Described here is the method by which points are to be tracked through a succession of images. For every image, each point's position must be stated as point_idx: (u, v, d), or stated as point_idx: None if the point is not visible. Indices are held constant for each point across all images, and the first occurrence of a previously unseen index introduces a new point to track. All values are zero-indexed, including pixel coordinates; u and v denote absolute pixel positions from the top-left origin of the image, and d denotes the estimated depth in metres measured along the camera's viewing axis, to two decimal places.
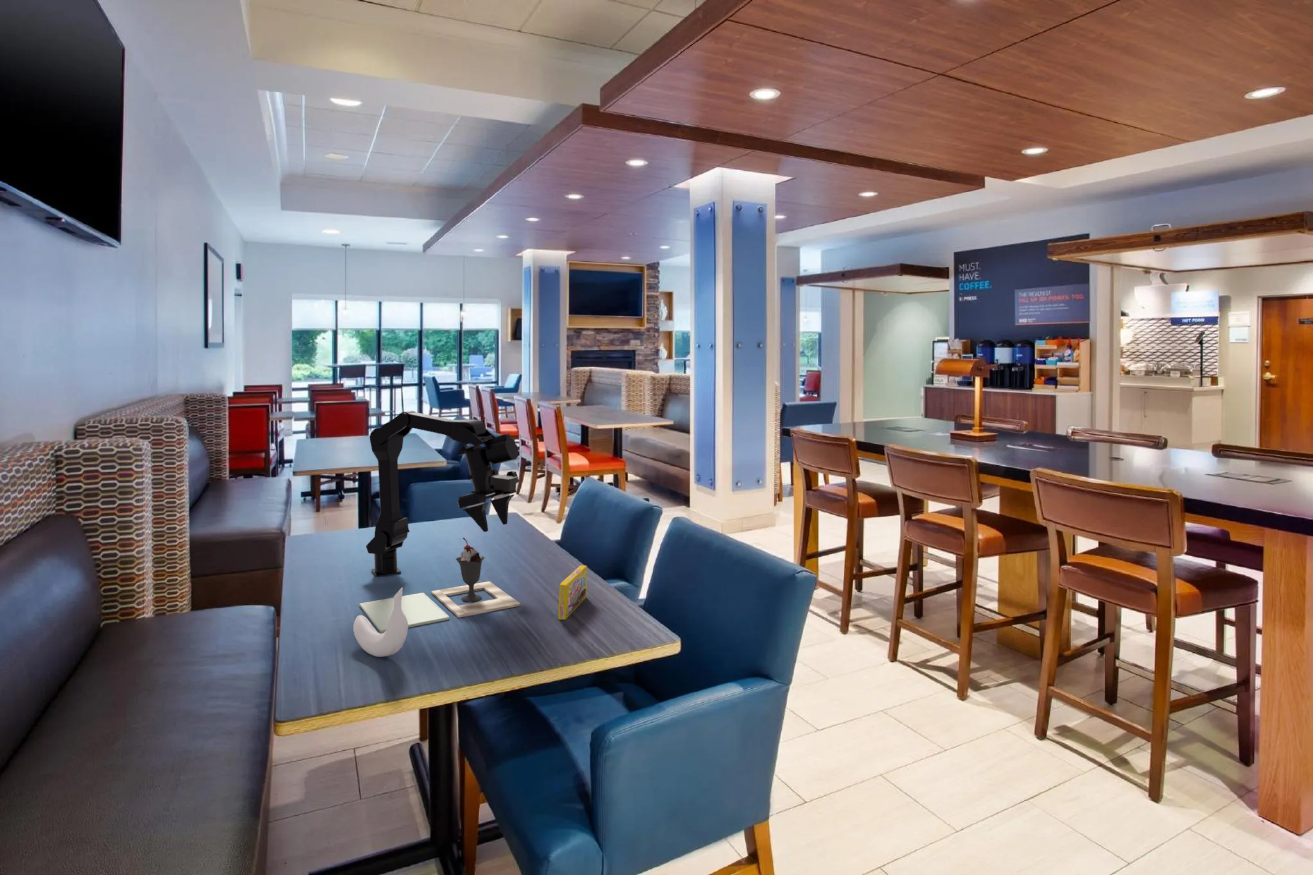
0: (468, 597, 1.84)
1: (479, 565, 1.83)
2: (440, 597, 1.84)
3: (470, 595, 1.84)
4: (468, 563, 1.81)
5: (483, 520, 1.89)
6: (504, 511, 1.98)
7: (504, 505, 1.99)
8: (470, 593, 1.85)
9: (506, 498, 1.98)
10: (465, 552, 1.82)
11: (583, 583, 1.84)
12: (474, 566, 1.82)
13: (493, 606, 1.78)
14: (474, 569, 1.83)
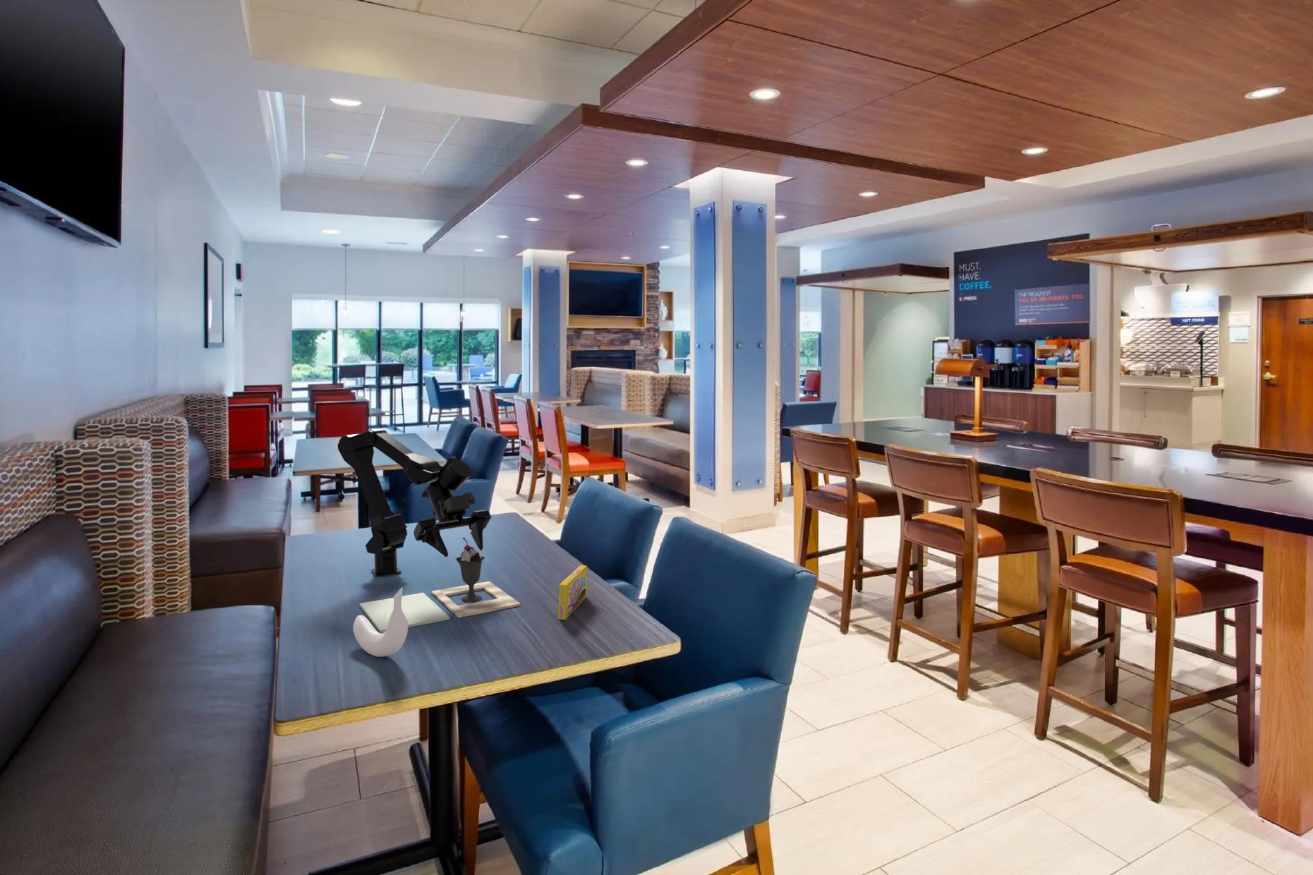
0: (468, 597, 1.84)
1: (479, 565, 1.83)
2: (440, 597, 1.84)
3: (470, 595, 1.84)
4: (468, 563, 1.81)
5: (440, 545, 1.84)
6: (478, 537, 1.91)
7: (477, 531, 1.91)
8: (470, 593, 1.85)
9: (476, 523, 1.92)
10: (465, 552, 1.82)
11: (583, 583, 1.84)
12: (474, 566, 1.82)
13: (493, 606, 1.78)
14: (474, 569, 1.83)
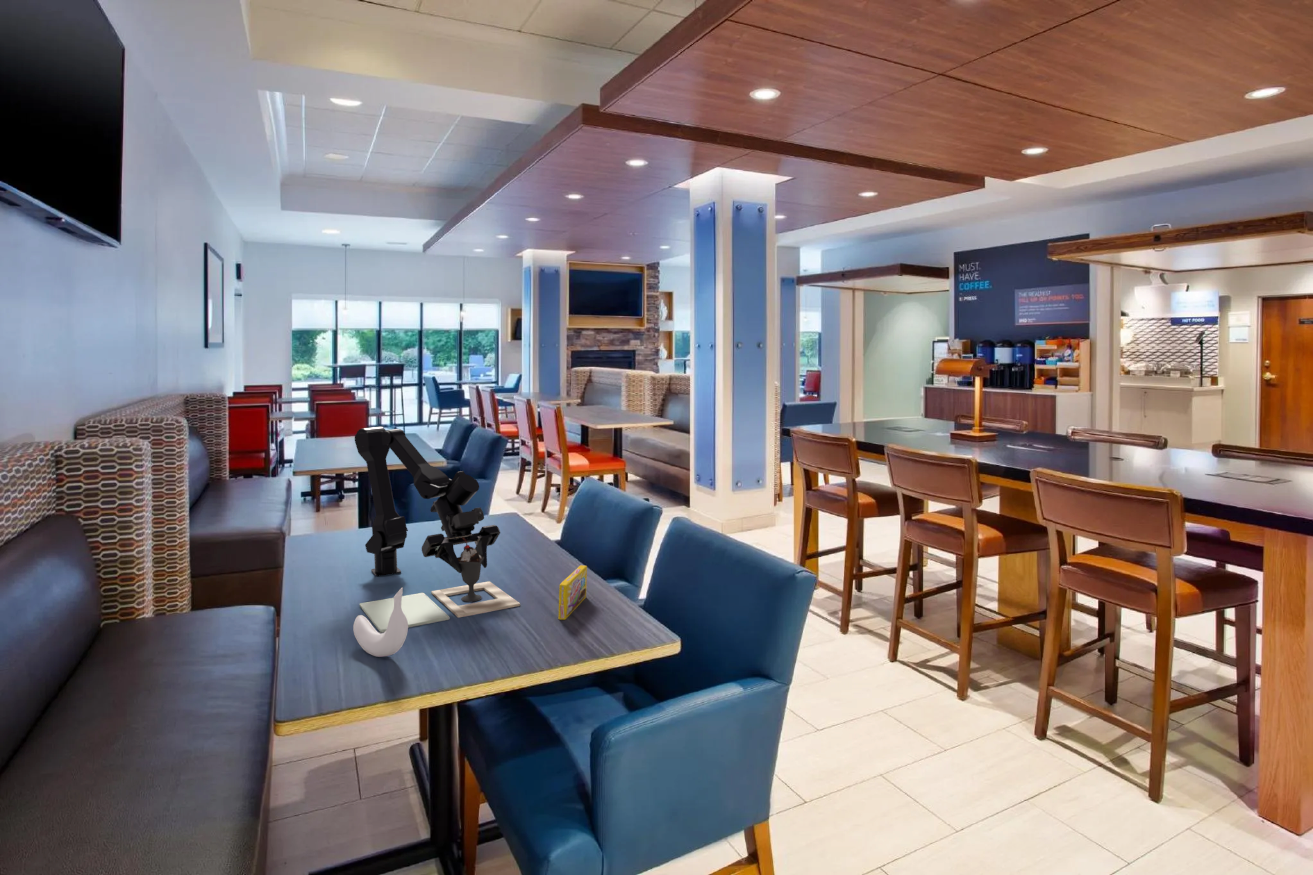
0: (468, 597, 1.84)
1: (479, 565, 1.83)
2: (440, 597, 1.84)
3: (470, 595, 1.84)
4: (468, 563, 1.81)
5: (453, 560, 1.82)
6: (482, 554, 1.87)
7: (481, 547, 1.87)
8: (470, 593, 1.85)
9: (480, 540, 1.88)
10: (465, 552, 1.82)
11: (583, 583, 1.84)
12: (474, 566, 1.82)
13: (493, 606, 1.78)
14: (474, 569, 1.82)
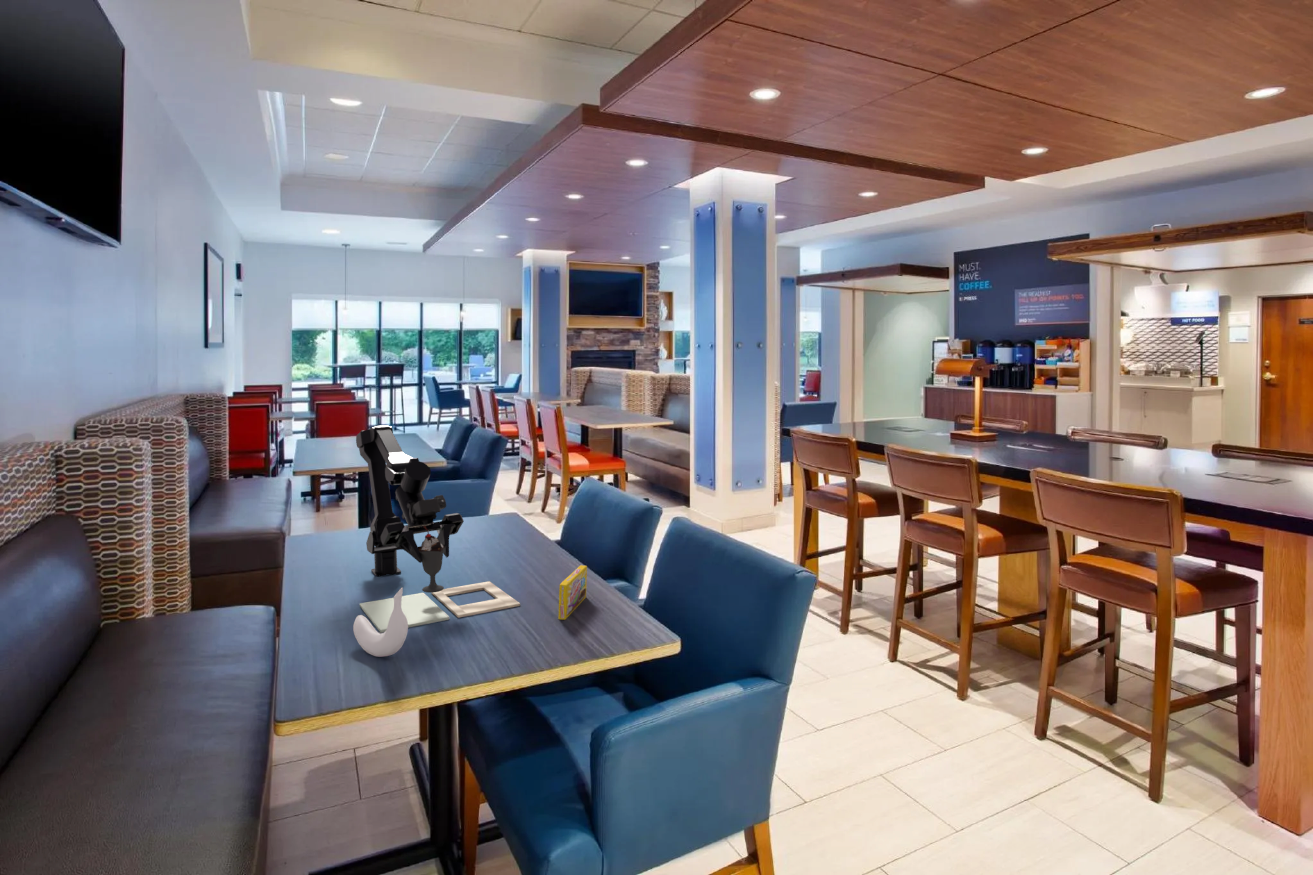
0: (429, 587, 1.78)
1: (440, 554, 1.77)
2: (440, 597, 1.84)
3: (431, 585, 1.78)
4: (429, 552, 1.75)
5: (413, 550, 1.75)
6: (444, 543, 1.81)
7: (443, 536, 1.81)
8: (431, 583, 1.79)
9: (442, 528, 1.82)
10: (426, 541, 1.76)
11: (583, 583, 1.84)
12: (435, 555, 1.76)
13: (493, 606, 1.78)
14: (435, 559, 1.77)
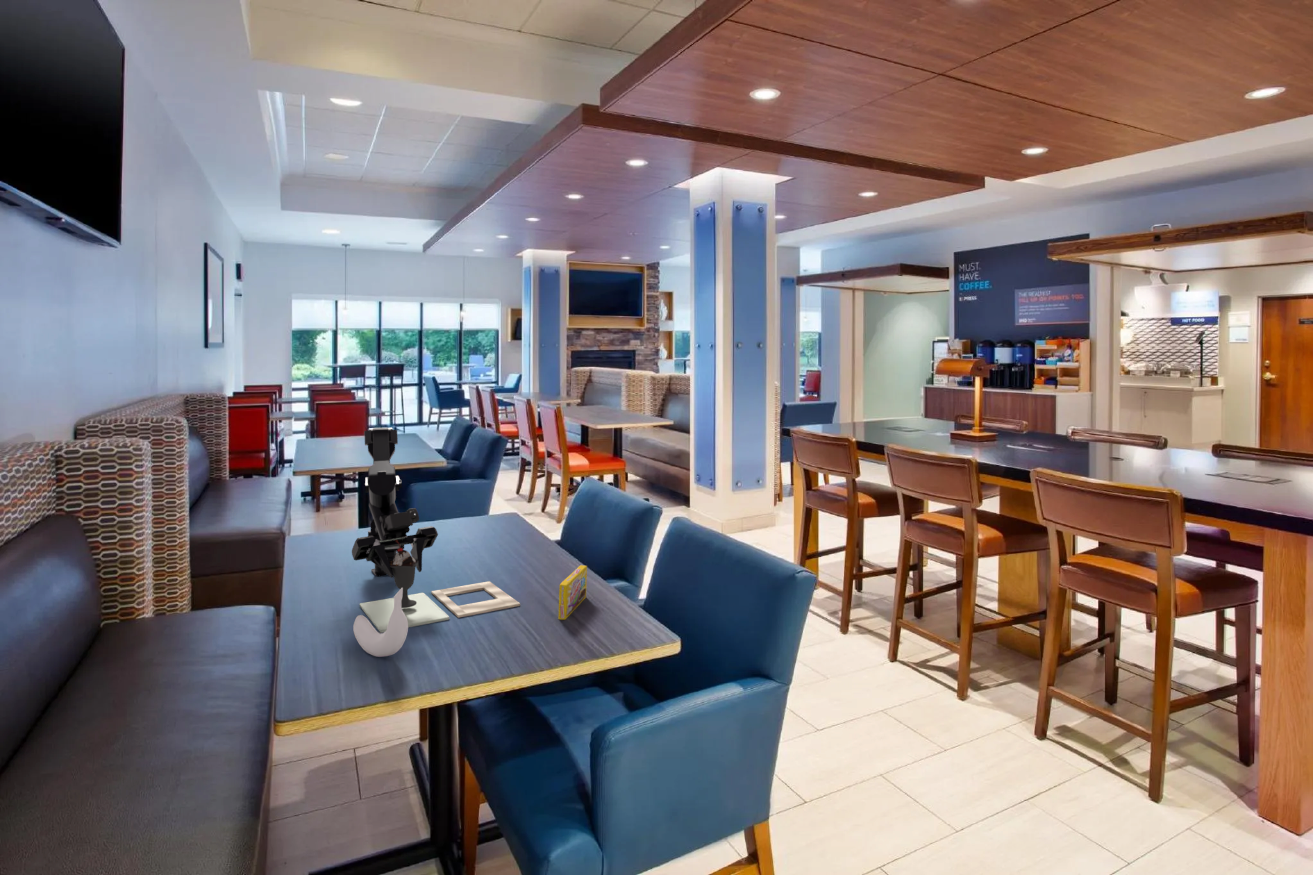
0: (401, 603, 1.75)
1: (412, 569, 1.74)
2: (440, 597, 1.84)
3: (403, 600, 1.75)
4: (400, 567, 1.72)
5: (384, 564, 1.72)
6: (417, 557, 1.77)
7: (416, 550, 1.78)
8: (403, 598, 1.75)
9: (416, 542, 1.78)
10: (397, 555, 1.73)
11: (583, 583, 1.84)
12: (407, 570, 1.73)
13: (493, 606, 1.78)
14: (407, 573, 1.73)
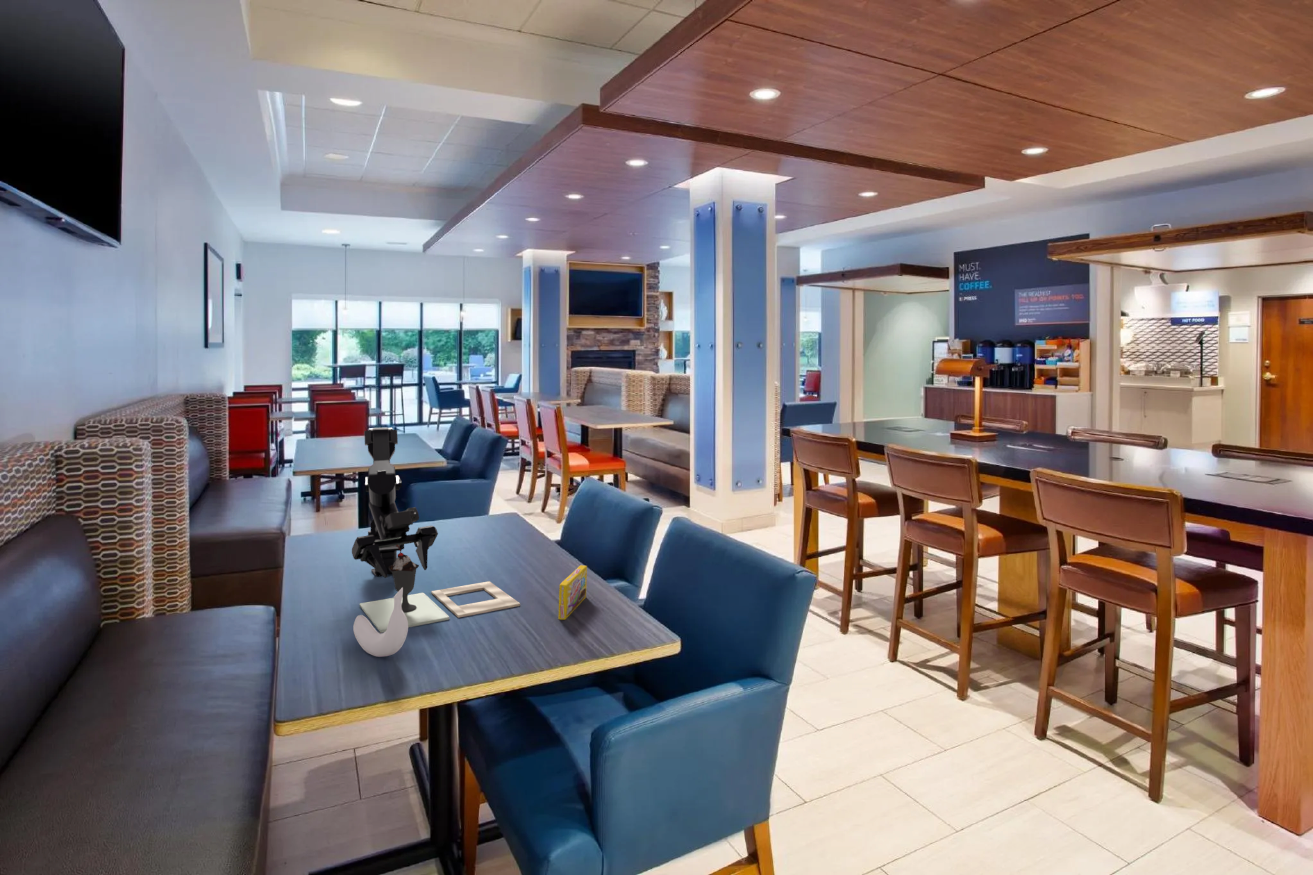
0: None
1: (412, 574, 1.74)
2: (440, 597, 1.84)
3: (403, 605, 1.75)
4: (400, 572, 1.72)
5: (379, 564, 1.71)
6: (422, 555, 1.78)
7: (422, 549, 1.79)
8: (403, 603, 1.75)
9: (421, 540, 1.79)
10: (397, 560, 1.73)
11: (583, 583, 1.84)
12: (407, 575, 1.73)
13: (493, 606, 1.78)
14: (407, 578, 1.73)
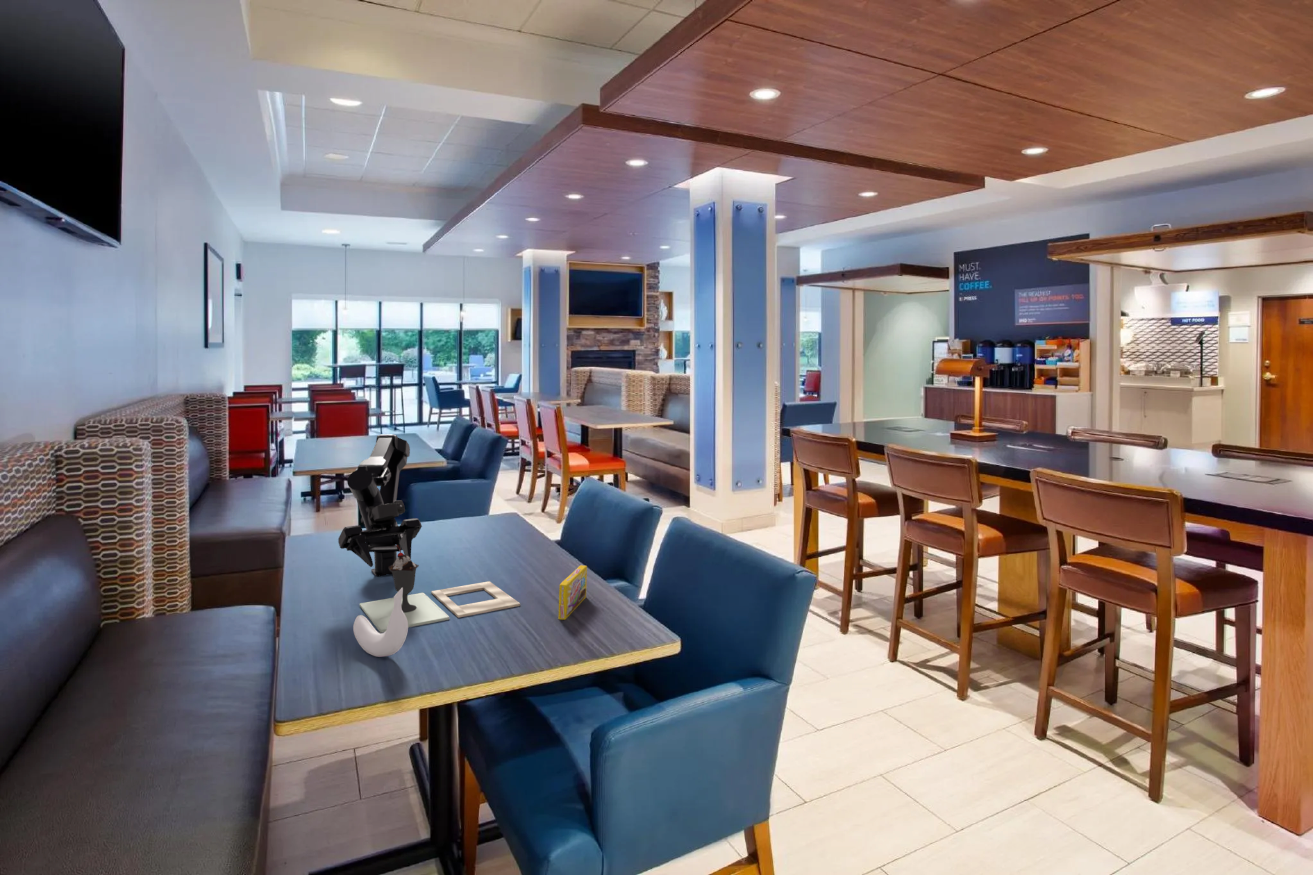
0: (401, 607, 1.75)
1: (412, 574, 1.74)
2: (440, 597, 1.84)
3: (403, 605, 1.75)
4: (400, 572, 1.72)
5: (365, 554, 1.78)
6: (406, 546, 1.85)
7: (406, 540, 1.86)
8: (403, 603, 1.75)
9: (405, 532, 1.86)
10: (397, 560, 1.73)
11: (583, 583, 1.84)
12: (407, 574, 1.73)
13: (493, 606, 1.78)
14: (407, 578, 1.73)
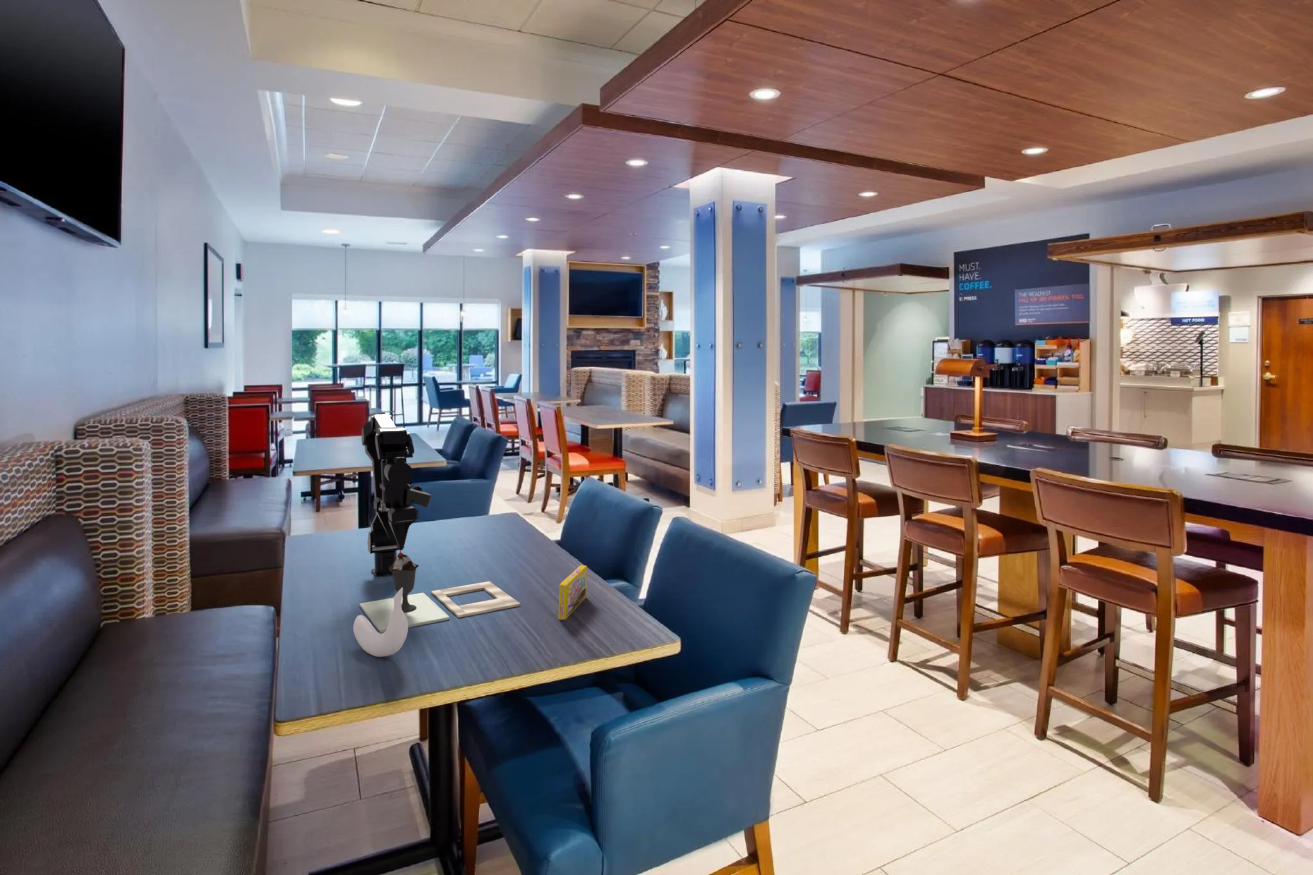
0: (401, 607, 1.75)
1: (412, 574, 1.74)
2: (440, 597, 1.84)
3: (403, 605, 1.75)
4: (400, 572, 1.72)
5: (405, 535, 1.82)
6: None
7: None
8: (403, 603, 1.75)
9: None
10: (397, 560, 1.73)
11: (583, 583, 1.84)
12: (407, 574, 1.73)
13: (493, 606, 1.78)
14: (407, 578, 1.73)
